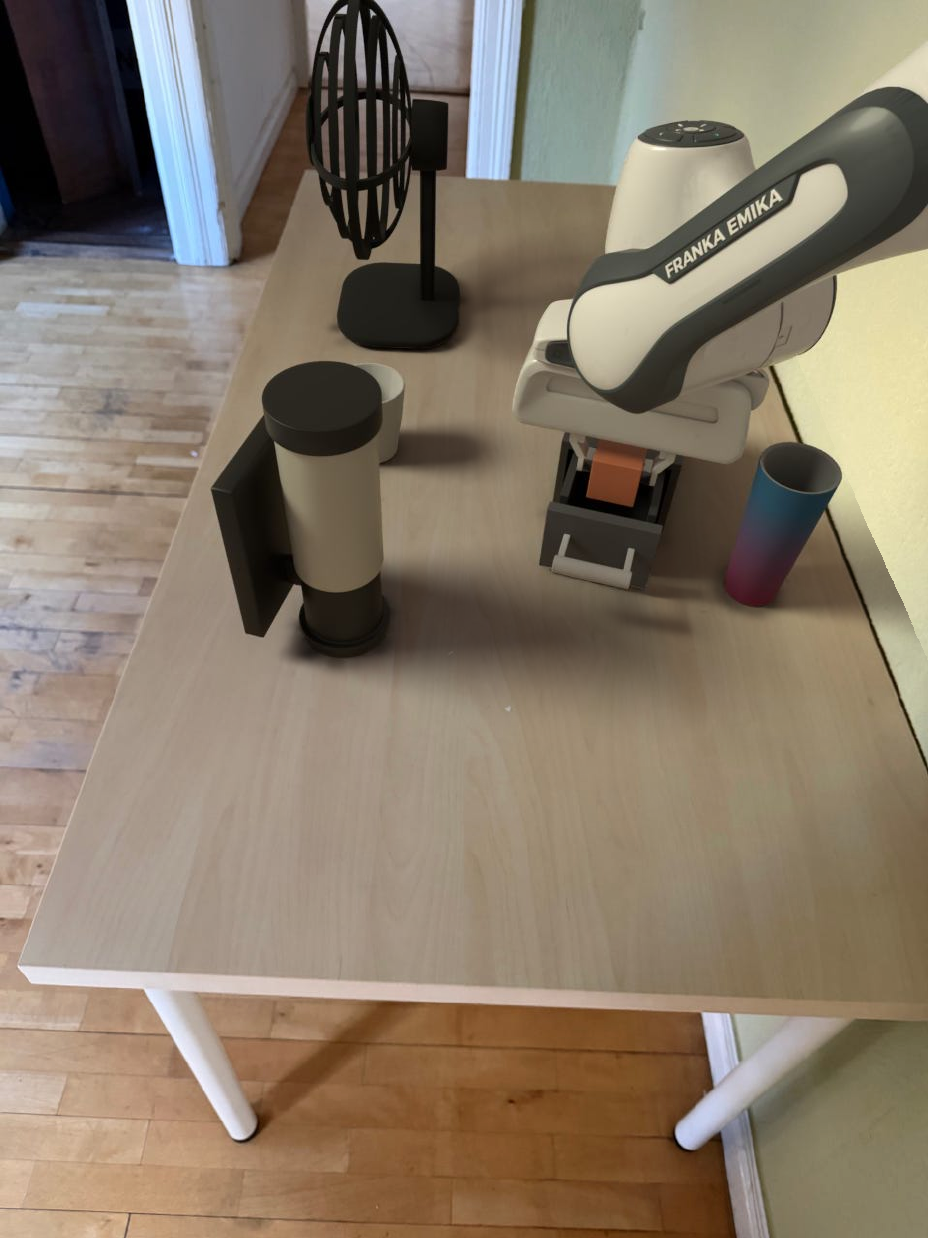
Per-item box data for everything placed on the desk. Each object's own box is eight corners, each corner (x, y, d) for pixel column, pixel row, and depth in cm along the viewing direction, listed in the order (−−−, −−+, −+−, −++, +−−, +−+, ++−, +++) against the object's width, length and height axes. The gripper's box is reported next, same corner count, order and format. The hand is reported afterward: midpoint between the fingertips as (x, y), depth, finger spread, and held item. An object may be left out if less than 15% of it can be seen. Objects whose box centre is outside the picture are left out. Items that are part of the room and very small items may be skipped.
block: (640, 477, 83) (649, 440, 80) (633, 507, 80) (642, 470, 77) (594, 468, 84) (601, 430, 80) (586, 497, 81) (593, 460, 77)
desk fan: (337, 256, 124) (314, -46, 98) (460, 261, 125) (471, -39, 98) (313, 364, 107) (277, 31, 80) (457, 370, 107) (469, 40, 80)
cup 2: (794, 580, 86) (852, 460, 74) (771, 624, 82) (828, 504, 70) (729, 552, 88) (775, 431, 77) (703, 594, 84) (748, 473, 73)
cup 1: (407, 470, 94) (406, 404, 88) (313, 472, 94) (305, 405, 87) (405, 427, 99) (404, 361, 93) (316, 428, 98) (309, 362, 92)
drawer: (638, 625, 80) (654, 569, 74) (528, 599, 82) (535, 543, 76) (663, 499, 92) (679, 443, 86) (566, 478, 93) (575, 422, 88)
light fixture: (366, 683, 76) (347, 458, 57) (248, 654, 77) (193, 425, 59) (409, 586, 83) (405, 359, 65) (301, 561, 85) (267, 332, 66)
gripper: (778, 343, 71) (732, 476, 81) (531, 299, 74) (518, 432, 84) (774, 387, 67) (726, 520, 77) (514, 338, 70) (502, 473, 80)
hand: (615, 474), depth 81 cm, fingers closed on block, 4 cm apart
